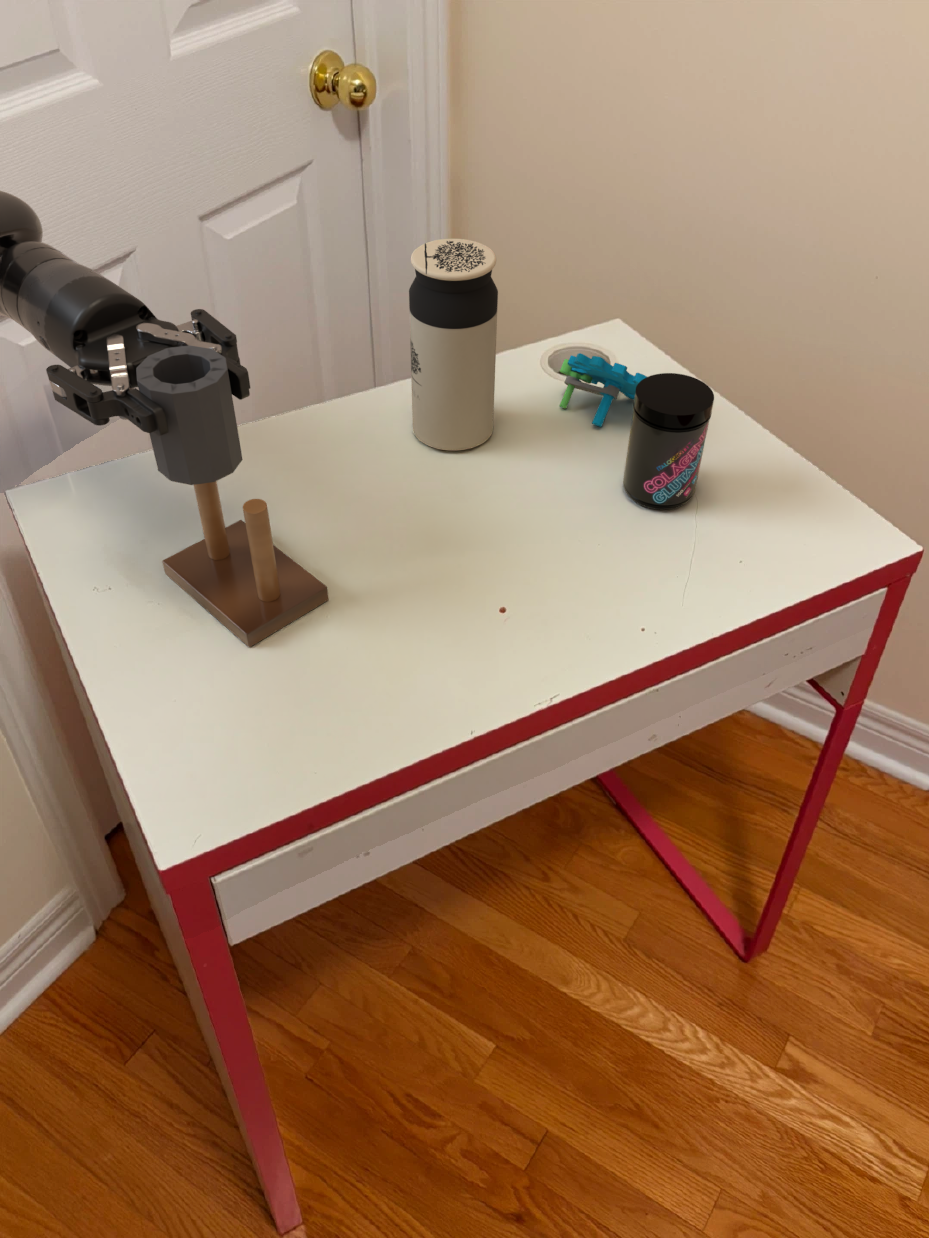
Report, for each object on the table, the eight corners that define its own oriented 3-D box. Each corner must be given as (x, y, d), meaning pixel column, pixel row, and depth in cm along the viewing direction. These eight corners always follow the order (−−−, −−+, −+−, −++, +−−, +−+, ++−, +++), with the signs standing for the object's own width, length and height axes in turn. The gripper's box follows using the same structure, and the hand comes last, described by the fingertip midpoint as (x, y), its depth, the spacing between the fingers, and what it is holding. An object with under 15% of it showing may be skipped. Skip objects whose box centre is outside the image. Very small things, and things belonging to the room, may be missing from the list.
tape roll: (188, 495, 78) (167, 403, 72) (141, 458, 81) (119, 367, 76) (258, 460, 81) (244, 369, 76) (211, 426, 84) (194, 336, 79)
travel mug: (496, 410, 107) (502, 239, 94) (489, 456, 101) (495, 279, 88) (418, 405, 107) (414, 234, 95) (407, 450, 101) (401, 274, 89)
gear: (681, 398, 105) (644, 361, 97) (658, 453, 106) (619, 420, 97) (590, 374, 111) (547, 337, 103) (568, 426, 112) (524, 393, 103)
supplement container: (623, 512, 95) (637, 413, 88) (619, 467, 100) (632, 371, 92) (698, 515, 95) (719, 417, 87) (690, 471, 100) (709, 374, 92)
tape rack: (329, 600, 86) (318, 498, 79) (249, 648, 82) (229, 545, 75) (243, 532, 92) (225, 432, 85) (164, 574, 88) (139, 472, 81)
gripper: (-13, 307, 78) (104, 397, 70) (155, 249, 85) (279, 324, 77) (16, 394, 83) (128, 488, 75) (171, 332, 91) (289, 411, 82)
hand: (204, 404), depth 76 cm, fingers closed on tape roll, 6 cm apart
